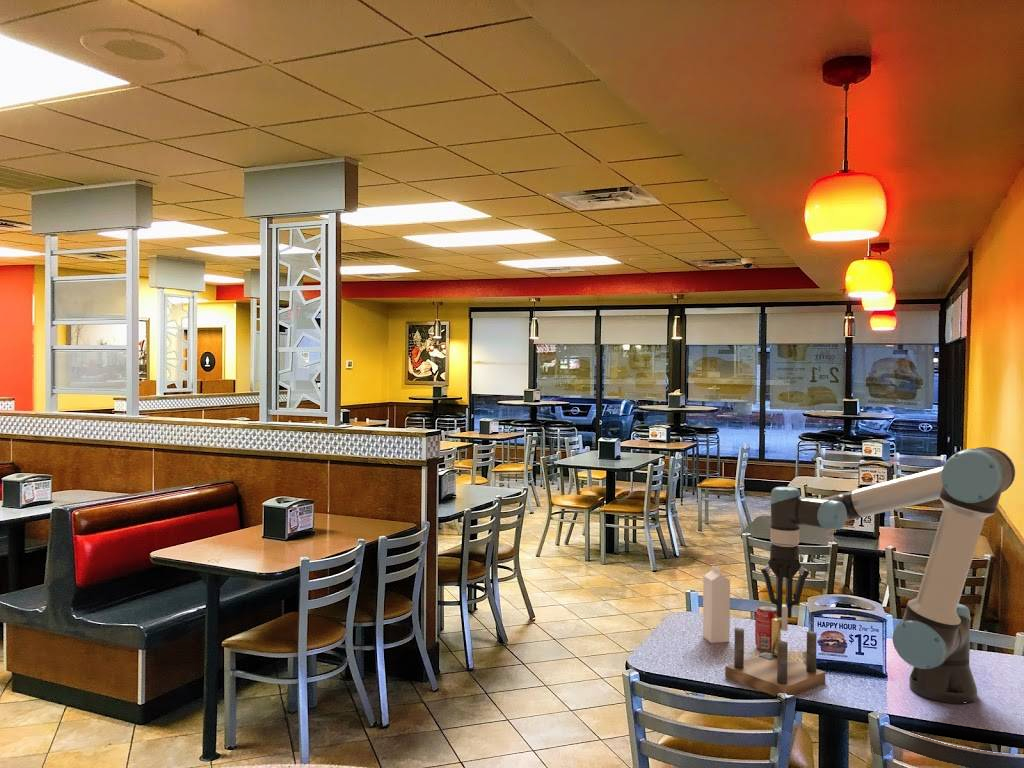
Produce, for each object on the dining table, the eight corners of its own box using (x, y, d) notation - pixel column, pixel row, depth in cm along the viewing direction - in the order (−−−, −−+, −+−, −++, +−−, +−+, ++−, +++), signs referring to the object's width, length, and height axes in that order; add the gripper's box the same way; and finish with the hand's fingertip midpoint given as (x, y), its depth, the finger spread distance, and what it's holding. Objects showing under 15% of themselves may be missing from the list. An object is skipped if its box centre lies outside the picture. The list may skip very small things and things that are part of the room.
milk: (711, 643, 235) (711, 570, 234) (702, 636, 241) (702, 565, 240) (730, 642, 236) (730, 569, 236) (720, 635, 242) (721, 564, 242)
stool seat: (825, 683, 204) (825, 633, 204) (785, 699, 193) (785, 647, 193) (765, 663, 218) (766, 616, 218) (725, 677, 208) (725, 628, 207)
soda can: (776, 644, 234) (777, 604, 234) (782, 652, 227) (783, 611, 227) (752, 643, 235) (753, 603, 234) (757, 651, 228) (758, 610, 227)
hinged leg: (786, 658, 212) (787, 623, 212) (778, 658, 212) (778, 623, 212) (778, 651, 217) (778, 617, 217) (770, 651, 217) (770, 618, 217)
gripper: (806, 541, 218) (805, 626, 218) (757, 540, 220) (757, 623, 220) (812, 547, 210) (811, 634, 211) (762, 545, 212) (761, 632, 212)
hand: (783, 629), depth 215 cm, fingers closed
